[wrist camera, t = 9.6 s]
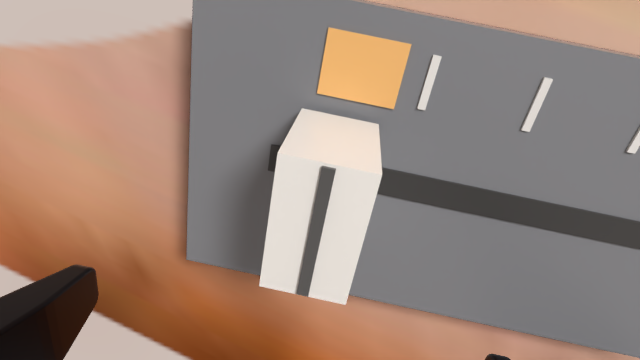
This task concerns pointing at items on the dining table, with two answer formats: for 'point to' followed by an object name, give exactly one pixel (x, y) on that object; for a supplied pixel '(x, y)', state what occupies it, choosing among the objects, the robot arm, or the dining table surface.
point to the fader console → (433, 158)
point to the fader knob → (321, 205)
